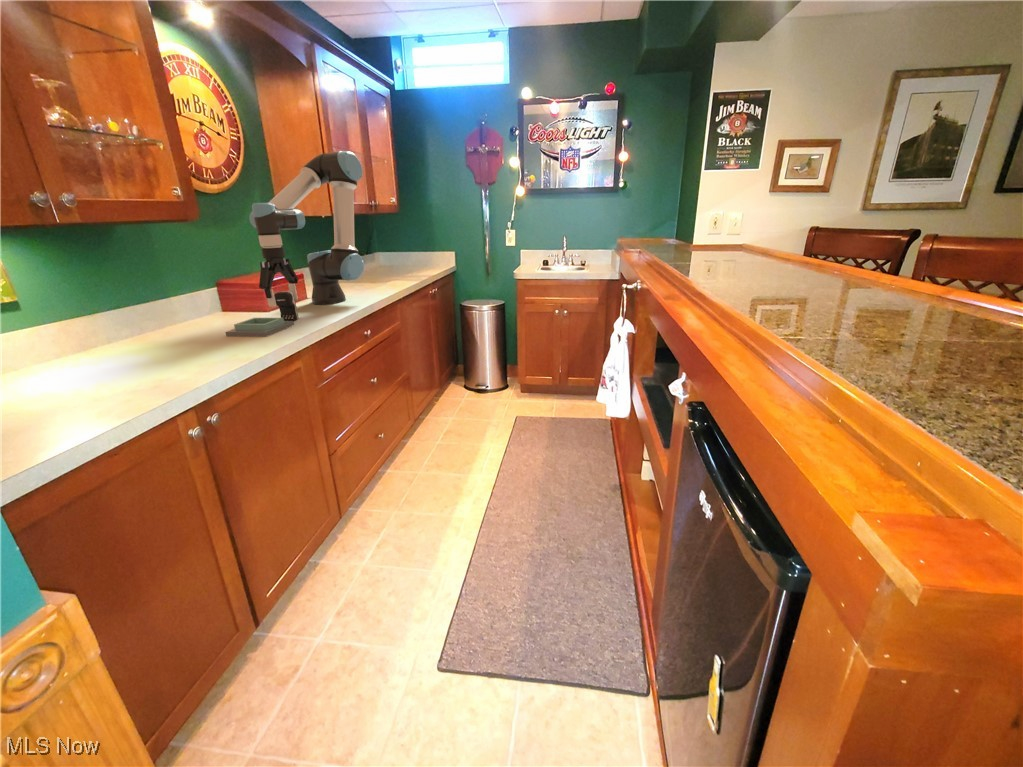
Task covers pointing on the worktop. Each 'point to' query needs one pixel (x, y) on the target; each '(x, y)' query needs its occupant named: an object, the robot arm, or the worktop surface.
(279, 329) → the dock
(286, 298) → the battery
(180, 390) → the worktop surface
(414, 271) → the worktop surface
